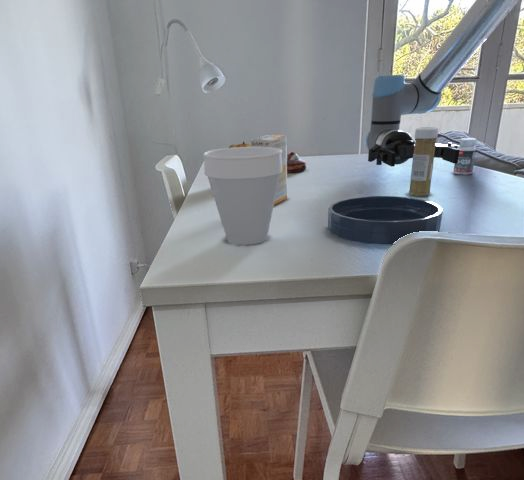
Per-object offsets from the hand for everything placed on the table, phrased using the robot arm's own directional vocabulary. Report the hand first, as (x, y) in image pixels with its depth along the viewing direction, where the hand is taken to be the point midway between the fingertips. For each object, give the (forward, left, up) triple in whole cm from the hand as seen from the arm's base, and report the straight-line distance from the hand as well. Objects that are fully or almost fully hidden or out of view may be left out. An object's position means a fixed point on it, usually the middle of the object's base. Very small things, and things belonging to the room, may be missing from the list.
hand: (425, 158), depth 99 cm
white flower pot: (+39, +26, -8) cm, 47 cm away
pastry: (+23, -41, -8) cm, 48 cm away
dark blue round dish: (+16, +26, -8) cm, 31 cm away
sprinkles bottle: (0, -1, -8) cm, 8 cm away
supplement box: (+33, -1, -8) cm, 34 cm away
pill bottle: (-20, -24, -8) cm, 32 cm away
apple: (+38, -26, -8) cm, 47 cm away
